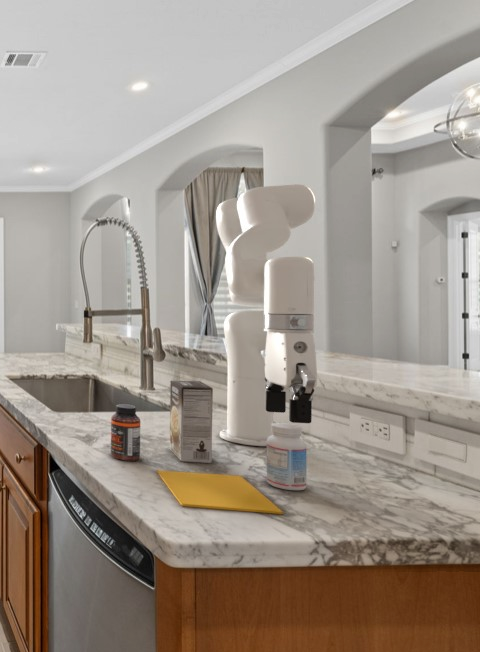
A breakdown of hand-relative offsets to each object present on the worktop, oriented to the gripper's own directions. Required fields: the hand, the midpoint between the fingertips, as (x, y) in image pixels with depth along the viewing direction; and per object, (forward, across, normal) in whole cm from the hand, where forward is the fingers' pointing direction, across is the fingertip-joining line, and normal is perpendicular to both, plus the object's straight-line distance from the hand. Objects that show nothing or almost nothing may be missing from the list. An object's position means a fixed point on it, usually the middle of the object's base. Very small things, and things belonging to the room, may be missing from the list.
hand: (287, 417), depth 100 cm
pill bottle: (+13, +1, 0) cm, 13 cm away
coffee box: (+13, +17, +12) cm, 24 cm away
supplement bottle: (+13, +13, +26) cm, 32 cm away
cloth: (+13, -5, +14) cm, 20 cm away
